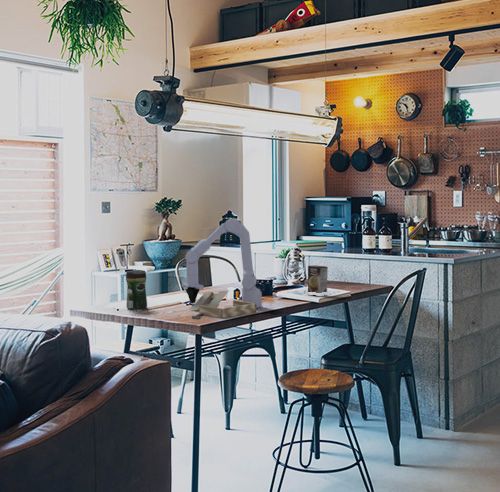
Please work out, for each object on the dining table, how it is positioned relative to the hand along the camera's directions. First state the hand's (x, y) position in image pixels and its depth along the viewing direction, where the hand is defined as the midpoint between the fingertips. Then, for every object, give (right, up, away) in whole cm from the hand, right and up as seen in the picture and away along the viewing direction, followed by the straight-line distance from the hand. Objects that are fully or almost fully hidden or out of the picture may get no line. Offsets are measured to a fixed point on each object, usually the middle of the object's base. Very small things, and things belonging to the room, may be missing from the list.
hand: (192, 303), depth 337 cm
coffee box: (+65, +1, +37) cm, 74 cm away
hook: (+6, -4, -29) cm, 30 cm away
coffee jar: (-27, -3, -4) cm, 27 cm away
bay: (+18, -3, -19) cm, 26 cm away
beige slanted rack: (+9, -3, -9) cm, 13 cm away
